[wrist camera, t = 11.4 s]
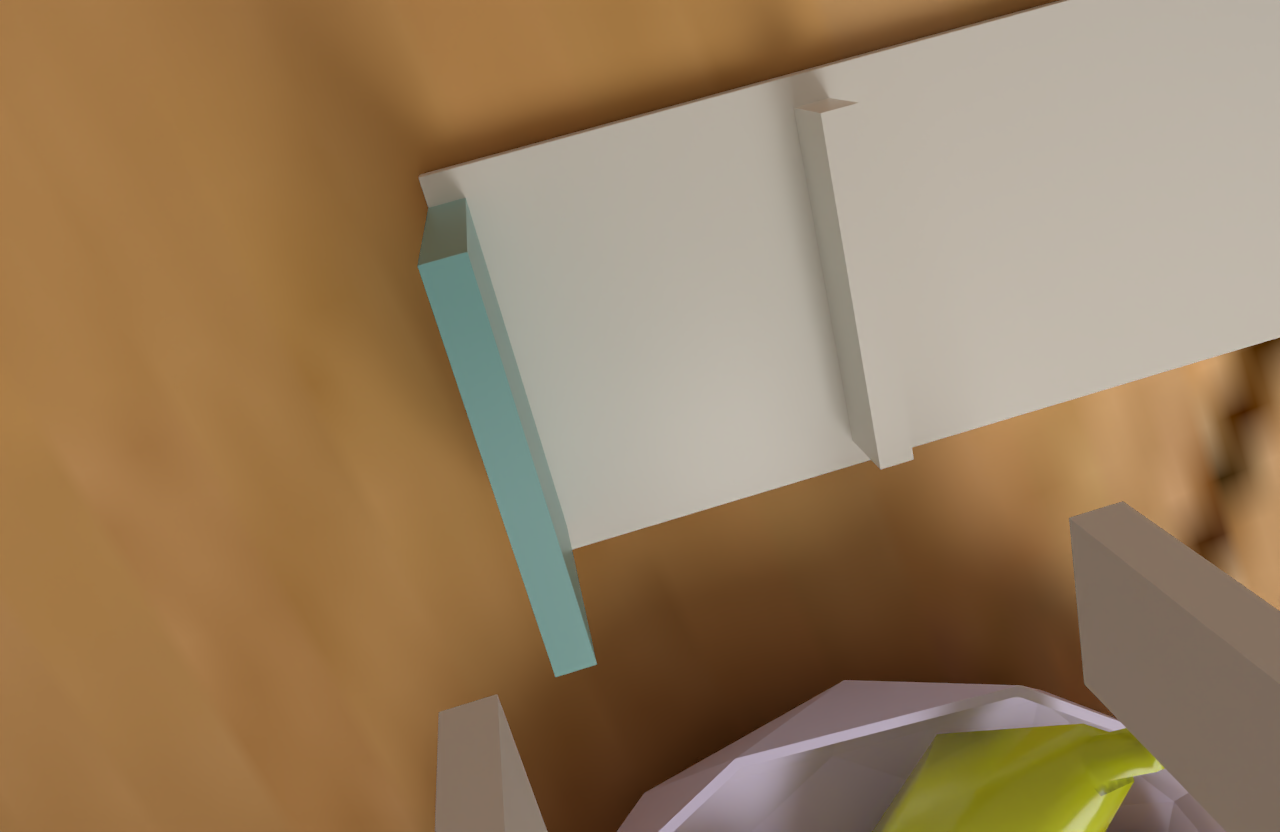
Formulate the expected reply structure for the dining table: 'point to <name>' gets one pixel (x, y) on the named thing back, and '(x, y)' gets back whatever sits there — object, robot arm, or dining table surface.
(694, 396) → the narrow white tray
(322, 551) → the dining table surface
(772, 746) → the fruit bowl
